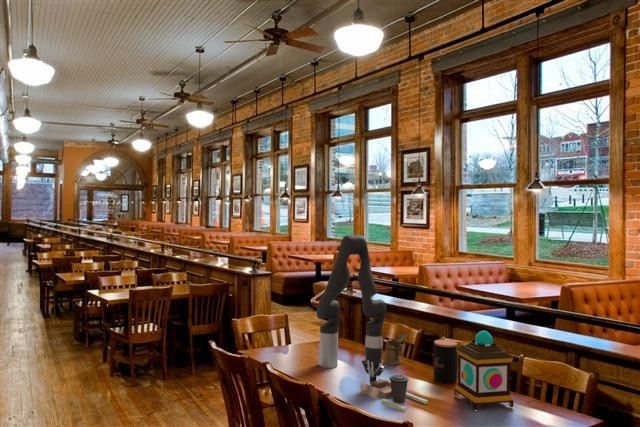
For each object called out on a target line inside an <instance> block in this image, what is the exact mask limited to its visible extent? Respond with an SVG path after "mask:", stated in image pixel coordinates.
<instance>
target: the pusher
mask: <svg viewBox="0 0 640 427" xmlns="http://www.w3.org/2000/svg"><path fill="white" fill-rule="evenodd" d="M383 379H384V378H383ZM383 379H380V380H379V379H376V381H373V382H371V384H370V383H369V384H370V386H373V387H375V388H378V389H379V398H382V399H386V400H388V399H390V398H391V399H392V392H391V387H388V386H387V381H386V380H387V379H386V380H383Z"/></svg>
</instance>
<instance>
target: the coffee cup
mask: <svg viewBox="0 0 640 427" xmlns="http://www.w3.org/2000/svg"><path fill="white" fill-rule="evenodd" d="M388 379H389V381H390V382H391V392H392V397H391V400H392V401H391V402H393V403H396V404H397V403H398V404H400V403H401V404H402V403H405V402H406V398H407V397H406V392H407V388H408V382H409V380H410V378H408V377H407V376H405V375H403V374H400V375H399V374H395V375H391V376H390V377H389V378H388Z"/></svg>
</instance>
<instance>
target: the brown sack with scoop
mask: <svg viewBox="0 0 640 427" xmlns="http://www.w3.org/2000/svg"><path fill="white" fill-rule="evenodd" d="M406 337H407V332H405V331H403V332H402V333H400V334H399V335H398V336H397V337H396V339H395V340H393V339H392V340H391V339H390V340H387V341H386V343H385V351H384V357H383V364H384V365H388V366H399V365H401V364H402V359H401V354H402V351H403V345H402V342H403V341H404V340H405V339H406Z"/></svg>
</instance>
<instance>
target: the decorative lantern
mask: <svg viewBox="0 0 640 427" xmlns="http://www.w3.org/2000/svg"><path fill="white" fill-rule="evenodd" d="M493 339H494V338H493V336H492V334H491V333H490V332H488V331H487V330H481V331H479V332H478V333H477V334H476V335H475V338H474V339H473V340H471V341H470V342H468V343H466V344H461V345H460V346H457V348H456V351H457V384H456V386H455V388H454V397H455V396H458V397H459V396H462V397H464V398H465V399H466V400H468V401H469V402H471V403H472V405H473V410H474V411H475V410H477V411H478V409H479V406H480V405H490V404H491V405H492V404H504V403H508V407H509V406H510V407H513V408H514V402H515V401H514V398H513V396H512V395H511V363H512V362H513V360H514V357H513V356H512V355H511V354H510V353H508V351H506V350H505V349H502V348H501V347H499V346H498V345H497V344H496V342H493Z"/></svg>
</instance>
